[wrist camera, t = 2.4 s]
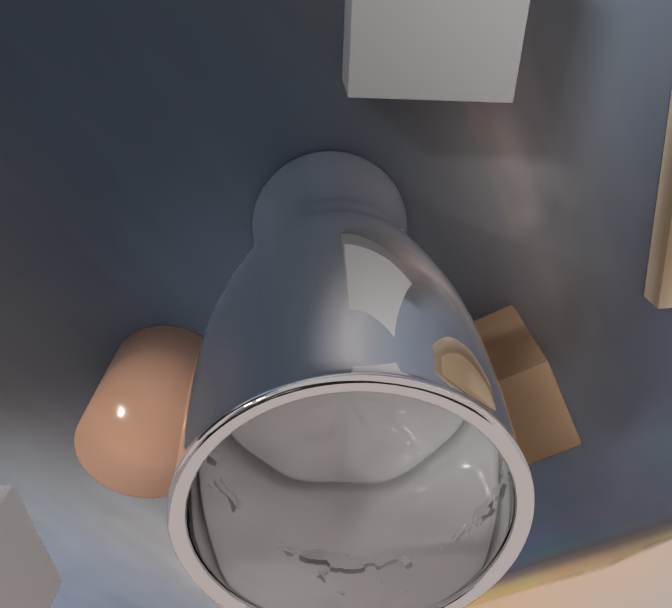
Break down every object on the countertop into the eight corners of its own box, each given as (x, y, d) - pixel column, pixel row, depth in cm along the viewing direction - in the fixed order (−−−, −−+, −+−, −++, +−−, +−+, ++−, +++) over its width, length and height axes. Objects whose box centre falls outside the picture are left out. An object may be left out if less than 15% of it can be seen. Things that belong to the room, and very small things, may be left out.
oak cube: (453, 415, 29) (476, 484, 25) (416, 345, 27) (434, 408, 23) (543, 378, 28) (581, 444, 24) (511, 303, 26) (548, 361, 22)
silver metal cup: (317, 332, 26) (323, 688, 13) (204, 214, 23) (67, 513, 10) (450, 237, 24) (616, 542, 11) (344, 97, 22) (397, 280, 8)
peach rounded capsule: (131, 423, 28) (98, 505, 24) (98, 333, 26) (54, 405, 21) (236, 410, 28) (222, 490, 24) (212, 318, 26) (192, 387, 21)
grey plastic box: (341, 78, 21) (347, 97, 18) (348, -89, 19) (357, -105, 16) (479, 83, 22) (512, 102, 18) (503, -81, 19) (546, -95, 16)
